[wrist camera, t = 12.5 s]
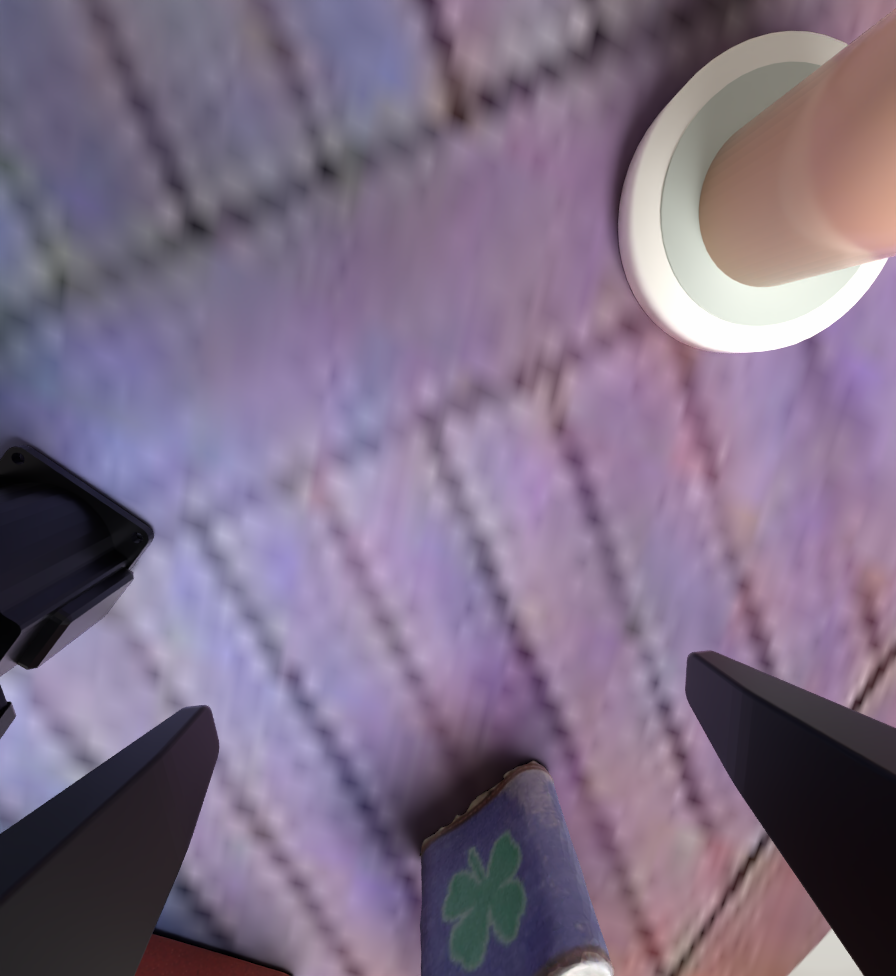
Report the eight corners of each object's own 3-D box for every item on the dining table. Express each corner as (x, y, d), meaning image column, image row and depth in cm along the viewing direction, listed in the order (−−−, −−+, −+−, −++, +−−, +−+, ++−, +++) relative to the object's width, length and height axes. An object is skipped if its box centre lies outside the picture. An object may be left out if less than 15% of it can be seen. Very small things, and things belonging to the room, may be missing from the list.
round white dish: (563, 228, 19) (577, 214, 17) (763, -13, 17) (799, -54, 15) (732, 404, 21) (758, 407, 19) (923, 205, 19) (968, 189, 18)
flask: (530, 751, 25) (612, 1022, 14) (564, 781, 25) (665, 1061, 15) (408, 848, 26) (403, 1165, 16) (443, 874, 27) (460, 1196, 16)
